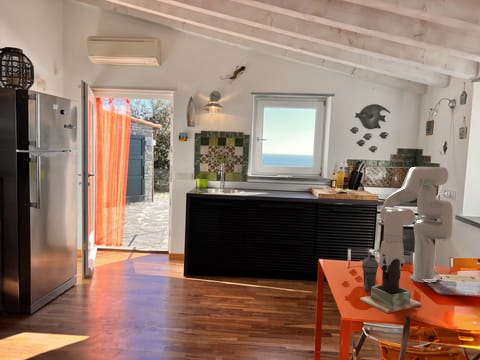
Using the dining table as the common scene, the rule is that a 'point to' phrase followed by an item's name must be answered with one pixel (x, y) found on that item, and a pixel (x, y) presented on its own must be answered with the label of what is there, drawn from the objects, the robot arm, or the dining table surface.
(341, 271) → the dining table surface
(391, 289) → the vinegar
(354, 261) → the dining table surface
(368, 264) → the beverage cup
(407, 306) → the bottle caddy
